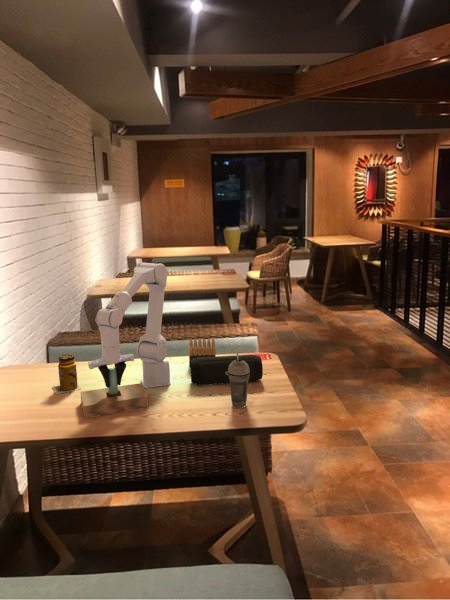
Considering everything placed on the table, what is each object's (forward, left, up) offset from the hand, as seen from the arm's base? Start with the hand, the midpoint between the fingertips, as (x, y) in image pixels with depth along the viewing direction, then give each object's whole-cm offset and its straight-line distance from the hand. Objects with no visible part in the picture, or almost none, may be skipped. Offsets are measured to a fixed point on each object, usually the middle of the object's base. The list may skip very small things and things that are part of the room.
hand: (113, 385), depth 161 cm
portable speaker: (-41, -5, -7) cm, 42 cm away
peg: (0, 0, -2) cm, 3 cm away
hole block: (0, 0, -7) cm, 7 cm away
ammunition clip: (-38, -24, -7) cm, 46 cm away
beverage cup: (-38, +15, -7) cm, 42 cm away
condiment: (+14, -21, -7) cm, 26 cm away
